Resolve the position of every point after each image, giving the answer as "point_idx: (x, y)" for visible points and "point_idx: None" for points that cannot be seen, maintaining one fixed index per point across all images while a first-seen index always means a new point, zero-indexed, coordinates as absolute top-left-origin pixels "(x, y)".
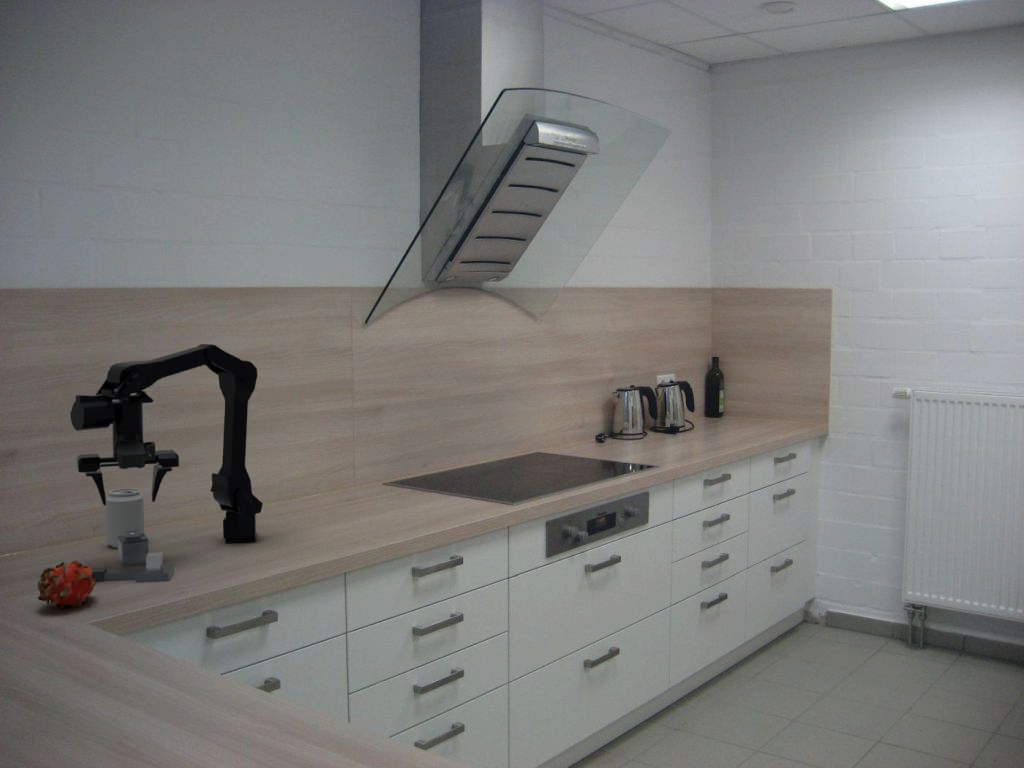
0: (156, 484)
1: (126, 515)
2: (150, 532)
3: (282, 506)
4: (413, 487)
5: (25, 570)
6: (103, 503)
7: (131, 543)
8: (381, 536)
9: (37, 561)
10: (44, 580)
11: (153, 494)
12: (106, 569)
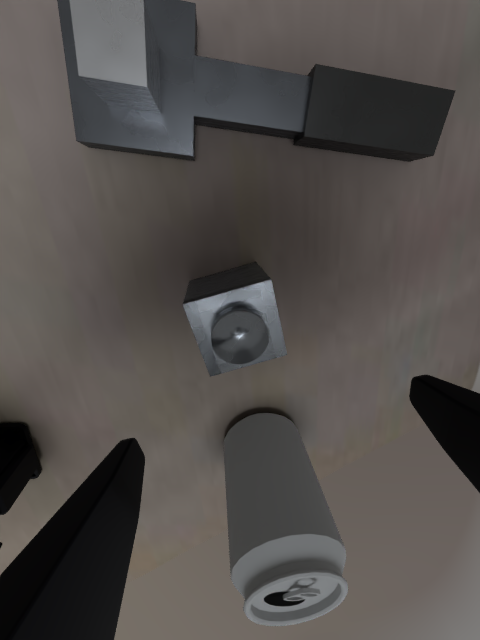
0: (10, 602)
1: (272, 484)
2: (220, 503)
3: None
4: None
5: (470, 277)
6: (436, 379)
7: (238, 285)
8: None
9: (433, 345)
10: None
11: (105, 482)
12: (302, 132)
